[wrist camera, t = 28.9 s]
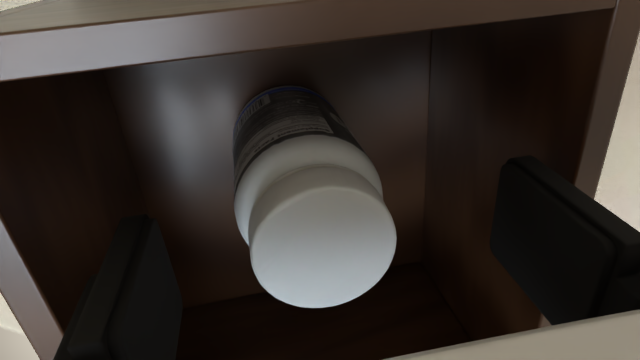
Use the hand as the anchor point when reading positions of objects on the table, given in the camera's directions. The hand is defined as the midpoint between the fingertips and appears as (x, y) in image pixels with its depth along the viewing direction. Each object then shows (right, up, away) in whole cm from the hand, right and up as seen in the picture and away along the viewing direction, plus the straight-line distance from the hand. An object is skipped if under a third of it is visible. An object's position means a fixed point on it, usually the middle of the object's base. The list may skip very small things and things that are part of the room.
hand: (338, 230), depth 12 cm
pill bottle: (-2, +3, +7) cm, 8 cm away
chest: (-2, +2, +8) cm, 9 cm away
